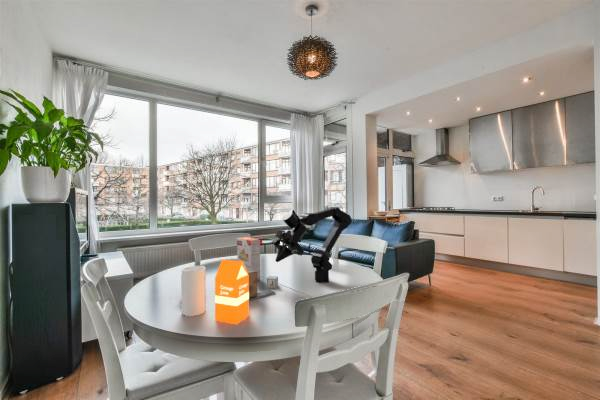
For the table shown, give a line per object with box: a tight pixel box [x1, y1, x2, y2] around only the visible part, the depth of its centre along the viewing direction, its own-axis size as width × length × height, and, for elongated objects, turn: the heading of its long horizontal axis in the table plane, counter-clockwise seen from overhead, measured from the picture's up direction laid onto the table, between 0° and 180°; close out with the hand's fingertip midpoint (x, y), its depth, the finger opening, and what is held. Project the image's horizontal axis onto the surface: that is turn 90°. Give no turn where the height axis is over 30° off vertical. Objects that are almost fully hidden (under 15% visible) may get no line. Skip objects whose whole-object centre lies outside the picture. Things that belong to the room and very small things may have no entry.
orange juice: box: [214, 259, 250, 325], centre depth 98 cm, size 8×9×20 cm
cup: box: [181, 265, 207, 317], centre depth 104 cm, size 8×8×16 cm
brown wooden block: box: [247, 270, 259, 297], centre depth 116 cm, size 12×3×10 cm, turn 128°
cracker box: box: [236, 236, 261, 280], centre depth 149 cm, size 14×6×21 cm, turn 42°
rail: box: [249, 289, 276, 301], centre depth 118 cm, size 22×4×2 cm, turn 128°
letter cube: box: [266, 275, 279, 289], centre depth 134 cm, size 4×5×4 cm
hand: (276, 261), depth 126 cm, fingers closed
